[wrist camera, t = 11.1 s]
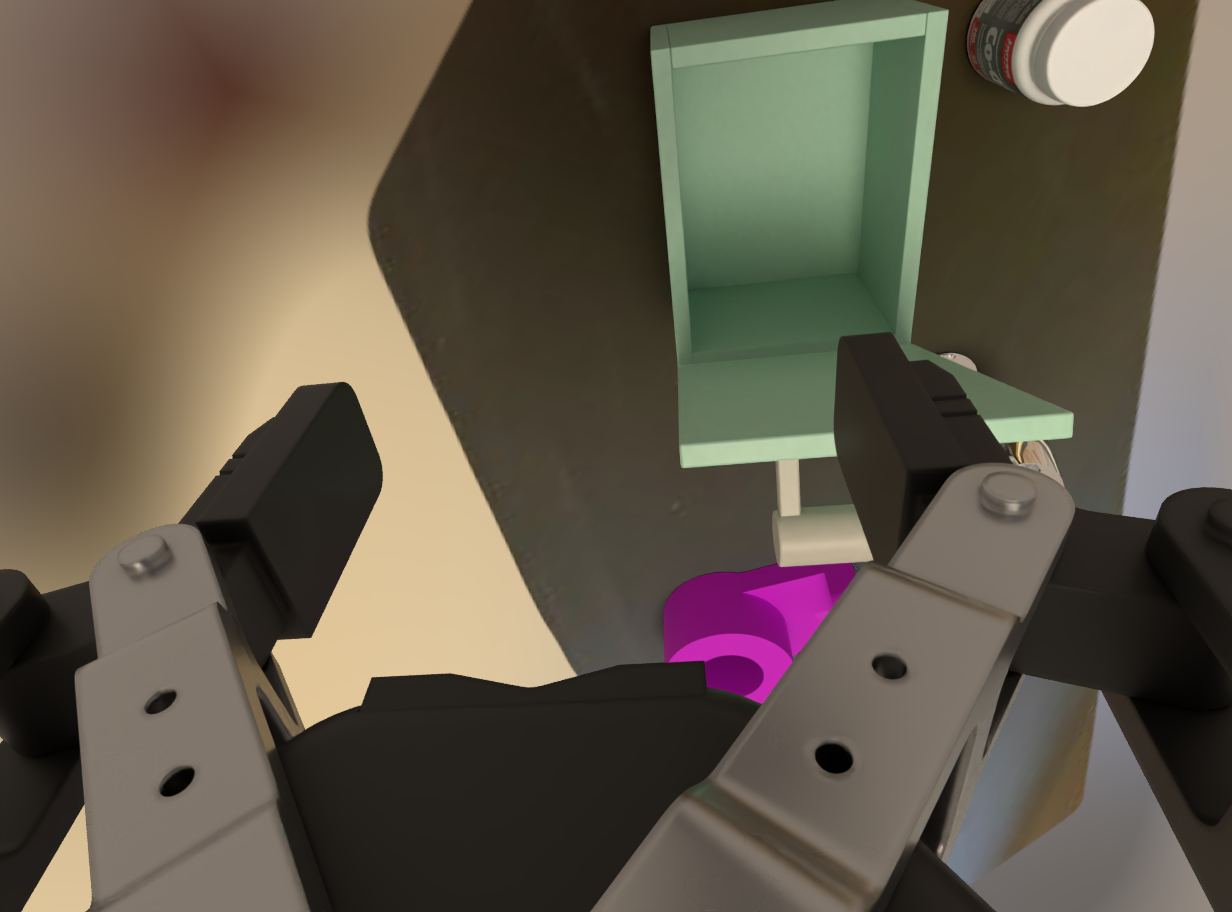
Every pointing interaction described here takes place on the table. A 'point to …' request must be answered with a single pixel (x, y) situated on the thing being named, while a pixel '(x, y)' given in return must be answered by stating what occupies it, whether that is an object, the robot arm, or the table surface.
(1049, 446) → the wineglass
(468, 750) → the robot arm
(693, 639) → the tape dispenser
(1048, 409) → the bin lid
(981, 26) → the pill bottle
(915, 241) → the bin
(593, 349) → the table surface
